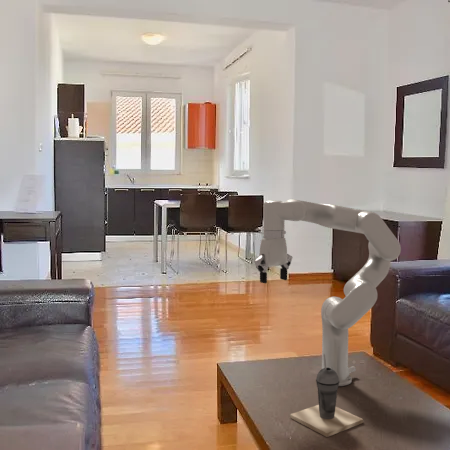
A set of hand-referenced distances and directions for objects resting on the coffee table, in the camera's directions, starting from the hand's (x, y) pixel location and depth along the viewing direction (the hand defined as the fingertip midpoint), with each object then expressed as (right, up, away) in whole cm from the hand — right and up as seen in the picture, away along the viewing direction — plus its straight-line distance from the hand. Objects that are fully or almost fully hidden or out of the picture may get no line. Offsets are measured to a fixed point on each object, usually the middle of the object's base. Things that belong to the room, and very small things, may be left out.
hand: (273, 281), depth 205 cm
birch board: (+14, -41, -28) cm, 52 cm away
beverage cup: (+14, -40, -27) cm, 51 cm away
